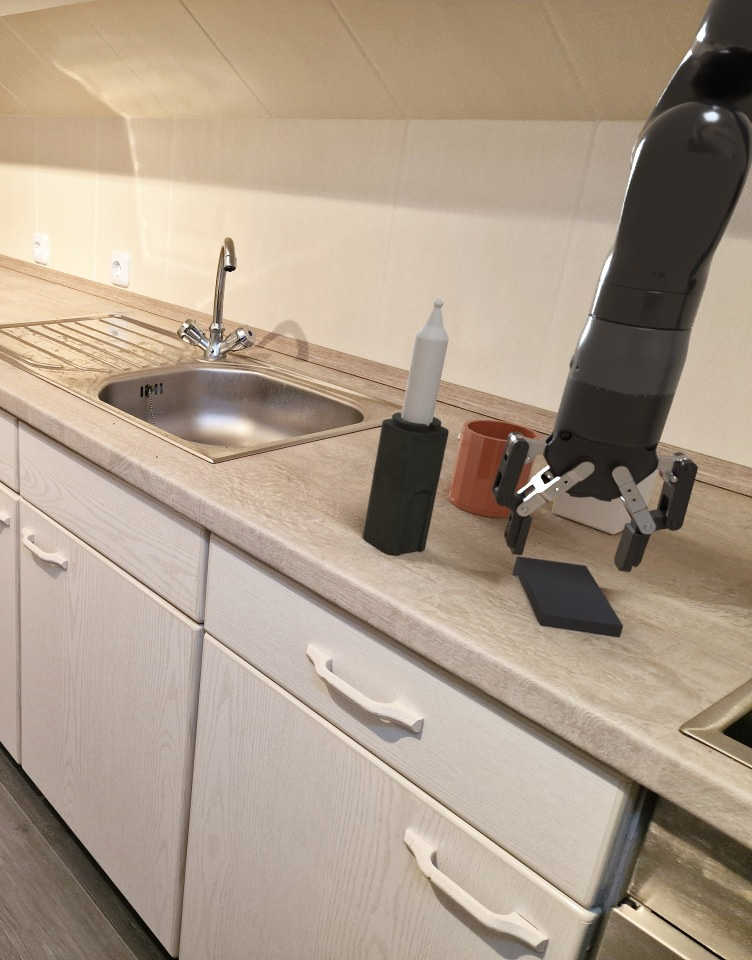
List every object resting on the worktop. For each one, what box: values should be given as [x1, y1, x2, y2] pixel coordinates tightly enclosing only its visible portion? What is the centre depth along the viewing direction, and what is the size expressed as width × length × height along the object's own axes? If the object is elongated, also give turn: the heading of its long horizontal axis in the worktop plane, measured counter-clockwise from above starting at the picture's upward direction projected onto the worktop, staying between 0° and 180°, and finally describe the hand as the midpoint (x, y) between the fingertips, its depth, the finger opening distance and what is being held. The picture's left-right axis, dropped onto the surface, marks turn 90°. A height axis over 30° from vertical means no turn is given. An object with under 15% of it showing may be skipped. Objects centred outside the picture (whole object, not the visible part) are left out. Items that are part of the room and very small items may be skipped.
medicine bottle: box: [551, 469, 659, 536], centre depth 94 cm, size 7×7×12 cm
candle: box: [362, 298, 450, 556], centre depth 83 cm, size 5×5×25 cm
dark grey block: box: [511, 555, 624, 638], centre depth 74 cm, size 6×11×3 cm, turn 167°
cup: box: [448, 419, 542, 519], centre depth 97 cm, size 8×8×9 cm
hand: (567, 559), depth 73 cm, fingers open, 8 cm apart
